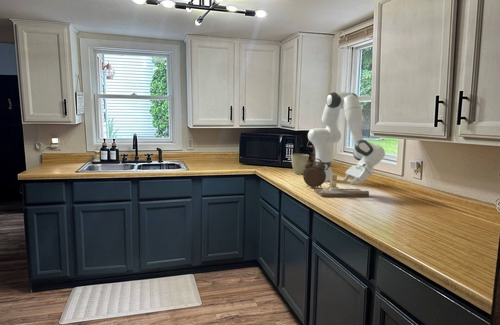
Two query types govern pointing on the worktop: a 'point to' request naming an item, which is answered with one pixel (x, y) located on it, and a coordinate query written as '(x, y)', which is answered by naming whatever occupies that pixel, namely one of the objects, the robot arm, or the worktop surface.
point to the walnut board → (342, 193)
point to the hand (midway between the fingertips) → (347, 182)
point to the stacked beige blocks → (333, 183)
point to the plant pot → (299, 162)
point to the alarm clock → (314, 174)
